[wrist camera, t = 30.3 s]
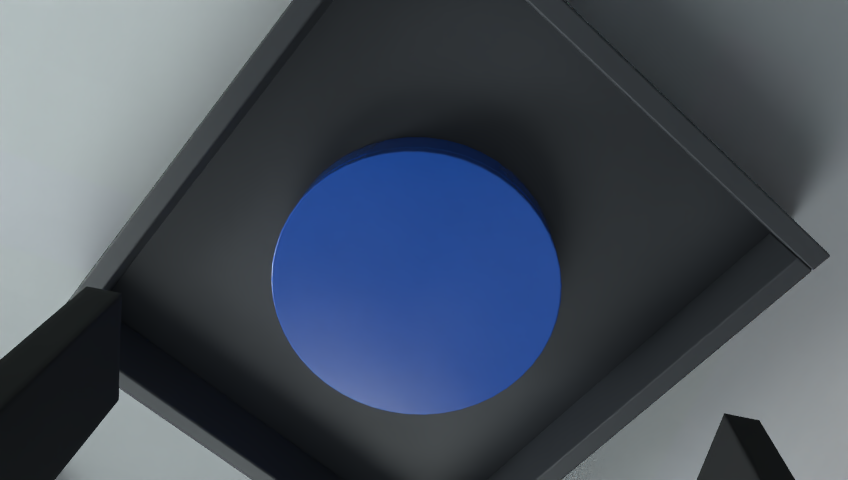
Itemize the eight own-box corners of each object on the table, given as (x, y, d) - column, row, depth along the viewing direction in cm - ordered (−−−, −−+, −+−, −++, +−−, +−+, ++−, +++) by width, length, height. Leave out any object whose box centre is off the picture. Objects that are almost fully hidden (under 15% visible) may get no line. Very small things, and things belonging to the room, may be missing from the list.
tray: (413, -139, 19) (405, -152, 17) (791, 223, 22) (831, 256, 20) (83, 298, 24) (41, 335, 22) (425, 540, 27) (421, 597, 25)
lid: (429, 430, 25) (427, 462, 23) (230, 279, 23) (212, 302, 22) (613, 260, 22) (623, 284, 21) (402, 75, 21) (397, 85, 19)
